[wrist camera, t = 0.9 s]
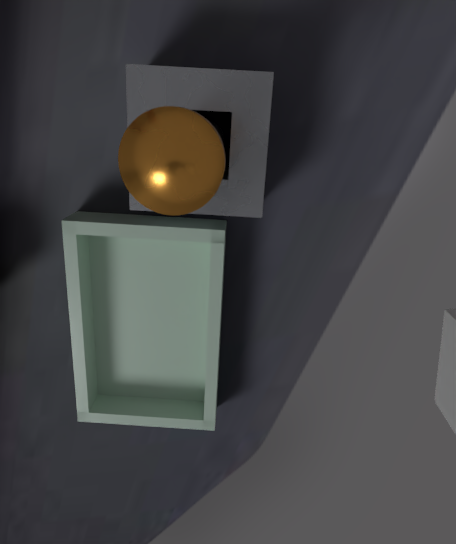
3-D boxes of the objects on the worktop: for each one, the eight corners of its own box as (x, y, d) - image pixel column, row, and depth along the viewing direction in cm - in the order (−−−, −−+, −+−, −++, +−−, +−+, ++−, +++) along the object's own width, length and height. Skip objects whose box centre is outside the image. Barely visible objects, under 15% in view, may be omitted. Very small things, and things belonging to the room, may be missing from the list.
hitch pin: (174, 168, 33) (119, 212, 19) (175, 107, 32) (116, 103, 17) (231, 171, 33) (221, 218, 19) (235, 110, 32) (226, 109, 17)
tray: (90, 398, 41) (78, 421, 38) (77, 211, 35) (61, 220, 32) (216, 407, 41) (214, 430, 38) (226, 220, 35) (225, 230, 32)
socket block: (145, 196, 34) (129, 209, 29) (143, 71, 31) (125, 64, 26) (259, 203, 34) (261, 217, 29) (269, 78, 31) (273, 72, 26)
